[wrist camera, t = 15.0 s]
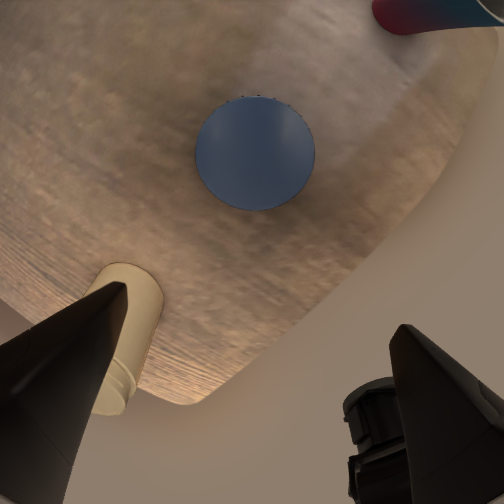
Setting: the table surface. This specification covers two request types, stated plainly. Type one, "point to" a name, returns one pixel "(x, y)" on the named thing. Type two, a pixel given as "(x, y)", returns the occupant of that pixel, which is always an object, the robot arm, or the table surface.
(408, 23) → the cup
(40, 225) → the table surface
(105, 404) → the jar
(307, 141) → the lid
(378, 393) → the robot arm
